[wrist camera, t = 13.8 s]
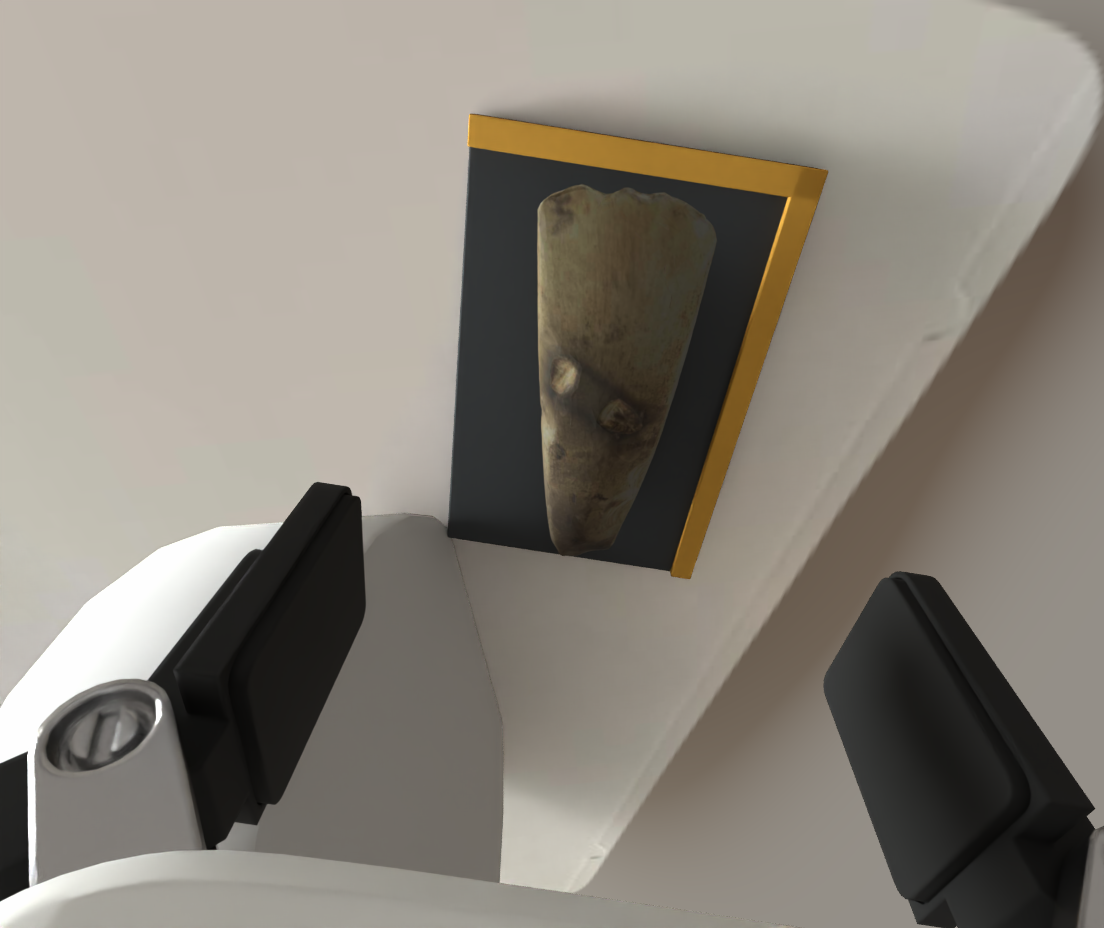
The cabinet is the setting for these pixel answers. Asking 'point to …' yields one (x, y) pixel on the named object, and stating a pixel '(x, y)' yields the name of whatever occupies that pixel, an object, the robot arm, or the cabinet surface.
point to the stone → (611, 346)
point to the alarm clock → (350, 711)
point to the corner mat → (512, 329)
